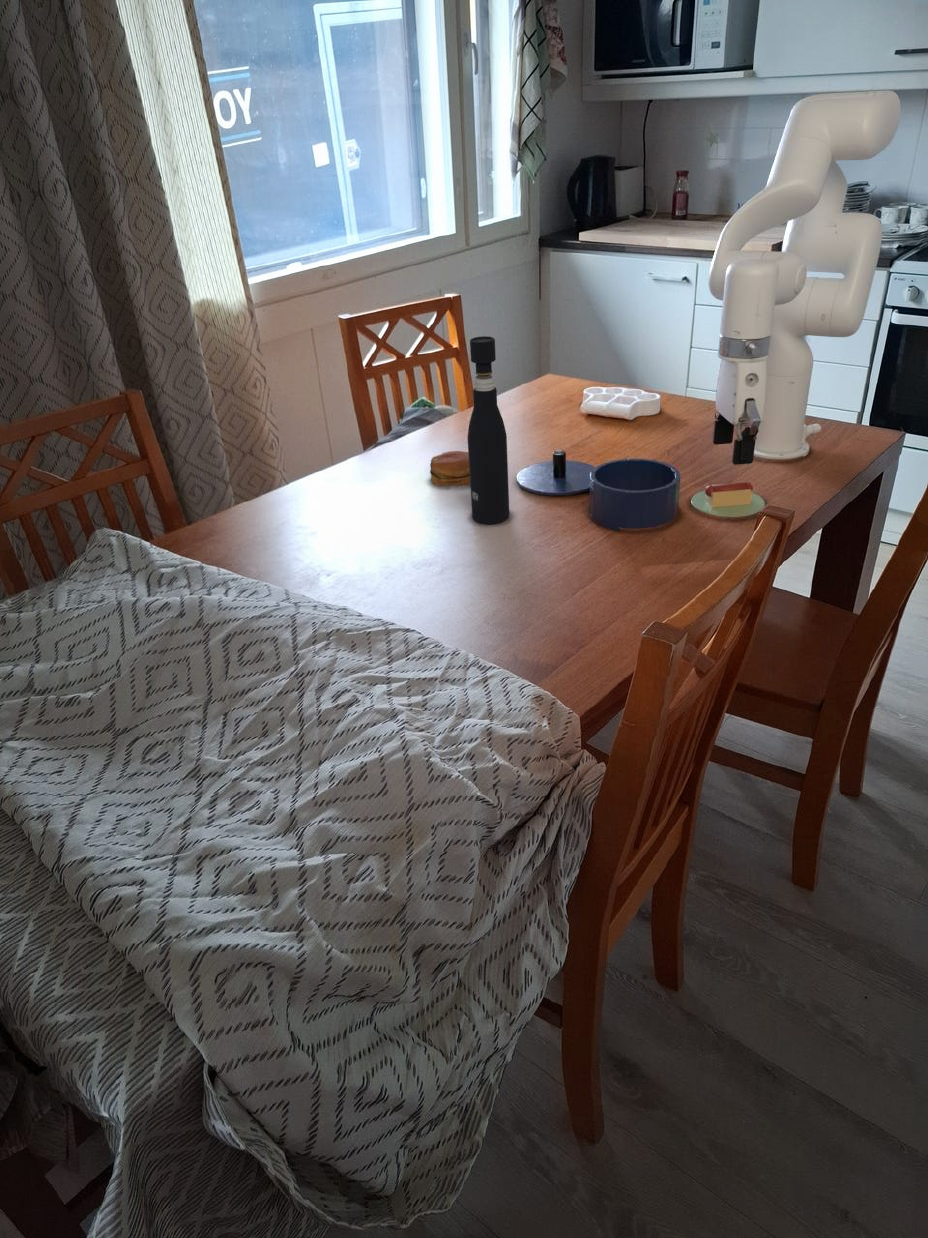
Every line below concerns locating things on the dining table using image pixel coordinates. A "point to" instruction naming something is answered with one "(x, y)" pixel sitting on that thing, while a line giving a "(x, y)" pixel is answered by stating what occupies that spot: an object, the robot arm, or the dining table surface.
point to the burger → (450, 469)
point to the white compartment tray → (619, 402)
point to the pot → (634, 494)
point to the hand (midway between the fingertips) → (732, 453)
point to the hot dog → (729, 494)
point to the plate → (728, 511)
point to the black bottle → (487, 441)
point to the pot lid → (556, 476)
